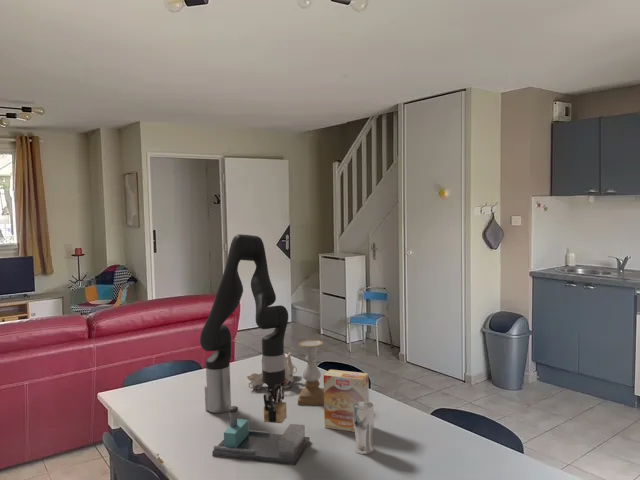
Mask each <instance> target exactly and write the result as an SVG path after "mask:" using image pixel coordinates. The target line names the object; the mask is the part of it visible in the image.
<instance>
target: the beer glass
mask: <svg viewBox="0 0 640 480" xmlns="http://www.w3.org/2000/svg"><path fill="white" fill-rule="evenodd" d="M353 425H354V430H355V432H354V436H355V444H354V451H355V452H356V453H357V454H360V455H361V454H362V455H368V454H369V455H370V454H371V453H373V451H374V444H373V433H374V427H375V409H374V403H372V402H371V401H369V402H367V401H359V402H355V403H354V404H353Z"/></svg>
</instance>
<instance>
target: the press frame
mask: <svg viewBox="0 0 640 480" xmlns="http://www.w3.org/2000/svg"><path fill="white" fill-rule="evenodd" d="M310 441H311V440H310V437H309V436H306V429H305V424H298V423H297V424H296V423H290V424H289V425H288V426H287V428H286V429H285V430H284V431H283V433H282V434H279V433H270V431H264V430H254V429H253V430H252V429H249V434H248V436H247V437H246V438H245V439H244V440H243V441H242V442H241V443H240V444H239V446H238V447H237V448H233V447H224V439H223V440H222V441H221V442H220V443H218V445H214V446H213V450H212V451H211V452H212V456H213V457H222V458H229V459H231V458H232V459H239V460H248V461H257V462H268V463H276V464H285V465H292V466H293V465H294V466H296V465H297V463H298V462H299V459H300V458H301V457H302V455H303V453H304V451H305V450H306V448H307V446H308V445H309V443H310Z"/></svg>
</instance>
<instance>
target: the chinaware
mask: <svg viewBox="0 0 640 480" xmlns="http://www.w3.org/2000/svg"><path fill="white" fill-rule="evenodd" d="M291 355H292V352H291V351H289V352H288V353H287V354H285V353H284V357H285V376H286V380H285V384H284V390H285V389H289V388H290V387H292V383H293V382H294V380H295V377H294V376H293V375H294V374H296V373H297V371H298V369H297V367H296V366H295V365H294V364H293V362H292V361H293V360H292V357H291ZM294 369H295V372H294ZM246 378H247V379H248V388H249V389H253V390H258V389H259V390H260V389H261V388H262V387H263V385H264V384H265V383H263V381H262V372H261V373H251V374H250V375H247V377H246Z"/></svg>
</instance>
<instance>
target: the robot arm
mask: <svg viewBox="0 0 640 480" xmlns="http://www.w3.org/2000/svg"><path fill="white" fill-rule="evenodd" d="M265 250H266V249H265V245H264V242H263V239H262V237H260V236H258V235H251V234H242V233H241V234H239V233H237V234H235V235H234V236H233V238H232V239H231V242H230V246H229V249H228V253H227V254H228V255H227V260H226V263H225V267H224V270H223V273H222V277H221V280H220V283H219V286H218V288H217V291H216V293H215V297H214V299H213V300H214V301H213V304H212V306H211V309H210V312H209V314H208V316H207V319H206V322H205V324H204V326H203V328H202V331H201V333H200V337H199V338H200V339H199V344H200V346H201V348H202V349H203V351H205V352H213V353H212V354H211V355H210V356H209V357H208V358H206V360H205V376H206V385H205V386H204V401H205V402H204V404H205V407H204V409H205V411H207V412H210V413H211V414H221V413H225V412H229V411H228V408H229V407H231V406H232V393H231V367H230V365H231V364H230V362H231V358H232V335H231V330H230V329H229V327H228V326H227V325H225V324H224V323H225V322H226V321H227V320H228V319H229V318H230V316H231V315H233V313H234V312H235V311H236V309H237V308H238V307H239V305H240V302H241V299H242V296H243V293H244V286H243V283H242V280H241V277H240V275H239V263H240V262H241V261H248V262H252V261H253V263H254V265H255V270H254V272H253V274H252V277H251V280H250V288H251V293H252V295H253V300H254V302H255V324H256V325H257V327H258V328H259V329H261V330H269V329H274V330H273V331H272V332H271V333H269V334H266V335H264V336H263V337H262V339H261V352H262V353H261V354H262V355H261V356H262V357H261V373H262V381H263V383H264V384H266V385H267V388H266V393H263V402H264V406H265V411H269V422H268V423H271V422H275V421H276V404H277V403H278V402H283V400H284V399H285V389H284V384H285V380H286V376H285V357H284V354H285V347H284V346H285V345H284V344H285V343H284V342H285V341H284V340H285V336H286V330H287V327H288V323H289V312H288V310H287V308H286V307H285V306H284V305H273V304H274V303H275V302H276V300H277V297H276V292H275V289H274V287H273V284H272V281H271V278H270V275H269V268H268V261H267V256H266V251H265ZM270 406H271V407H270Z"/></svg>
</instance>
